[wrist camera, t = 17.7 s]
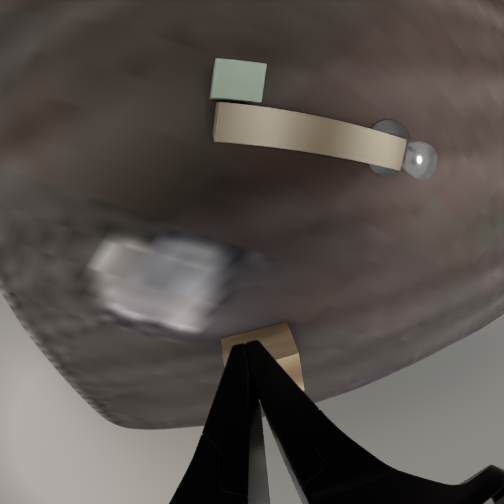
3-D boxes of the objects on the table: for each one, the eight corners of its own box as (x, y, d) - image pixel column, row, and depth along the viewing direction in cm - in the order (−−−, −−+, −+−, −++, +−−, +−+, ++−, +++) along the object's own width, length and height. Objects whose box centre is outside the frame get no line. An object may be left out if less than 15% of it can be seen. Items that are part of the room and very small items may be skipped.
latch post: (213, 68, 15) (215, 58, 11) (253, 72, 15) (266, 63, 12) (209, 99, 16) (211, 97, 12) (249, 102, 16) (261, 102, 13)
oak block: (220, 337, 25) (224, 372, 22) (286, 320, 25) (298, 353, 22) (237, 374, 28) (242, 406, 25) (293, 360, 28) (304, 390, 25)
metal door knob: (369, 112, 17) (405, 119, 14) (415, 127, 18) (452, 138, 14) (358, 171, 19) (390, 189, 16) (403, 180, 20) (437, 199, 17)
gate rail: (377, 131, 18) (407, 139, 15) (371, 158, 19) (400, 170, 16) (216, 102, 16) (219, 101, 12) (212, 134, 16) (214, 141, 13)
